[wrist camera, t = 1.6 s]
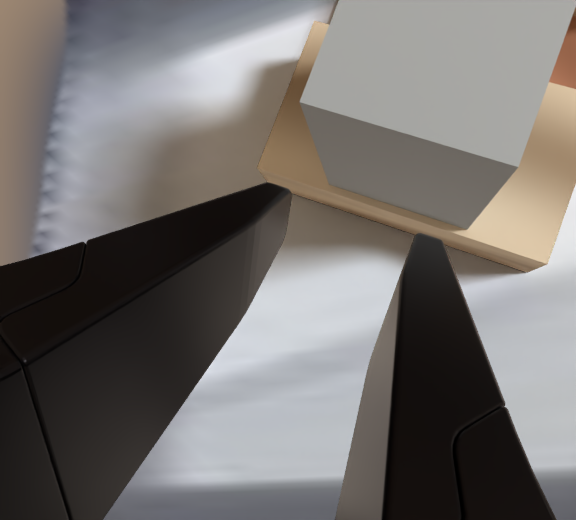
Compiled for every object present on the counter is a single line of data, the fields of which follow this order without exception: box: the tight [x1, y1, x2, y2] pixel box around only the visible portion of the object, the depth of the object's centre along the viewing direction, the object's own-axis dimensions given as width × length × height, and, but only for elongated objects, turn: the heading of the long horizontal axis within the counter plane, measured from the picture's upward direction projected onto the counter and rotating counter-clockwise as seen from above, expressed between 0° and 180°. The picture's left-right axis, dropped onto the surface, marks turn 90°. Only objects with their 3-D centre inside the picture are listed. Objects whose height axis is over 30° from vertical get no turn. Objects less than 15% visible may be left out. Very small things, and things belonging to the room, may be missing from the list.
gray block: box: [300, 0, 576, 230], centre depth 15 cm, size 5×5×7 cm
